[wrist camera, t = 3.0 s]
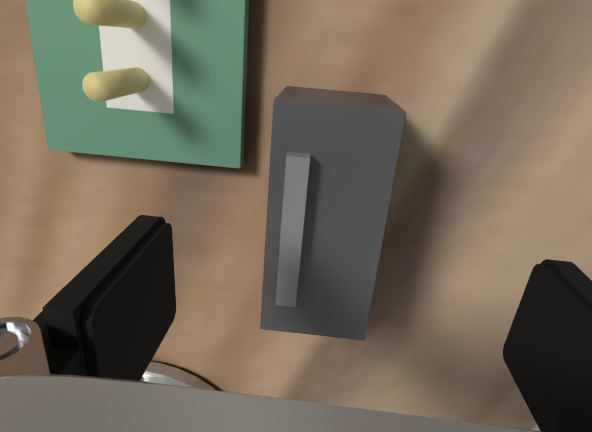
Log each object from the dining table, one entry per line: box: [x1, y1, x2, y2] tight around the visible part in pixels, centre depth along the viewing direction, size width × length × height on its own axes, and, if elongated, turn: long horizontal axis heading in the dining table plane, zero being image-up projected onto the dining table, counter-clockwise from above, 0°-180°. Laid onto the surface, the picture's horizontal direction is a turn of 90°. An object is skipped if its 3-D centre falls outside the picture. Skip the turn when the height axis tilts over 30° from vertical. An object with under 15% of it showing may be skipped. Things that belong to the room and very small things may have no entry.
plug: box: [260, 86, 406, 340], centre depth 17 cm, size 9×4×6 cm, turn 175°
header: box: [25, 0, 249, 168], centre depth 15 cm, size 12×9×4 cm
